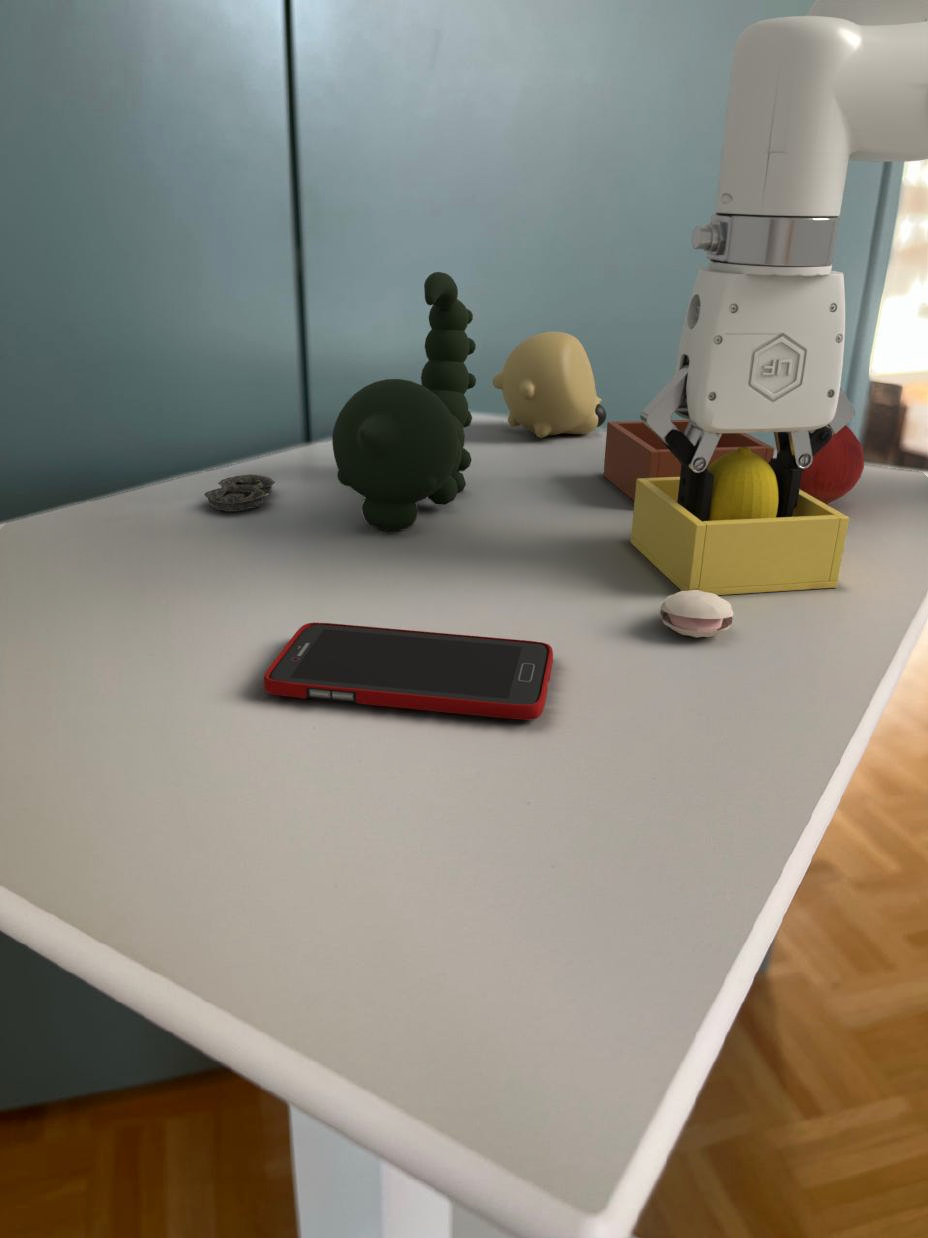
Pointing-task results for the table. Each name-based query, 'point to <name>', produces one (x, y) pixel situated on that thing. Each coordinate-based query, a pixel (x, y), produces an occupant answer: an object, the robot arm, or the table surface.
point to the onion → (834, 468)
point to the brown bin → (658, 453)
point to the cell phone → (414, 670)
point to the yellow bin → (738, 544)
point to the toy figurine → (412, 423)
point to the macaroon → (696, 613)
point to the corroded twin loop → (240, 492)
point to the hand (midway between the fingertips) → (735, 518)
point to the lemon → (743, 487)
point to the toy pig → (550, 386)
